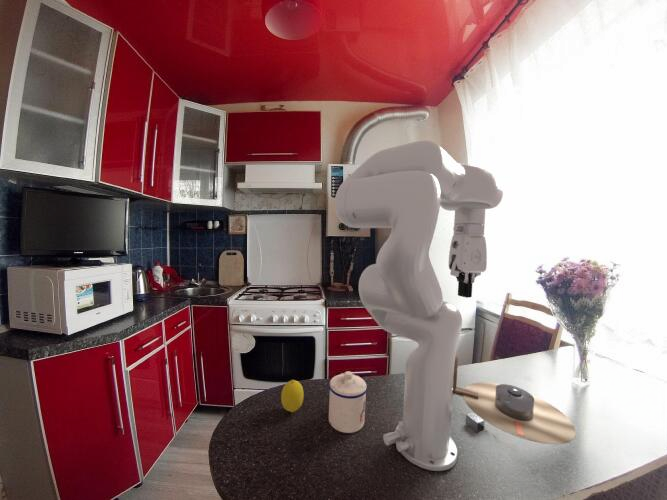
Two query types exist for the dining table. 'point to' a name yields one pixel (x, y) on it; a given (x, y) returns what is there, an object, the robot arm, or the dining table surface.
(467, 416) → the speckled grey block
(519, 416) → the cover
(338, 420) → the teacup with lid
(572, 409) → the dining table surface
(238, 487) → the dining table surface
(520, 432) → the turntable
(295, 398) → the lemon
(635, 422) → the dining table surface
